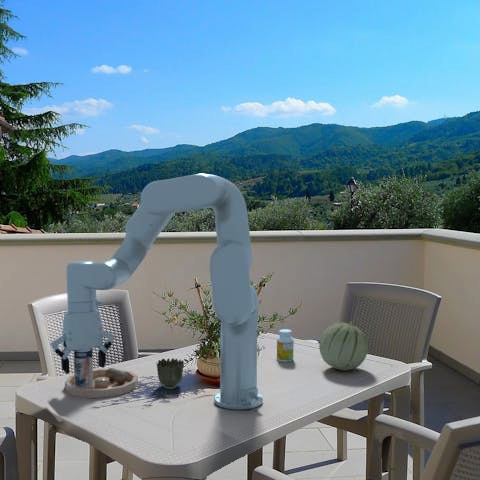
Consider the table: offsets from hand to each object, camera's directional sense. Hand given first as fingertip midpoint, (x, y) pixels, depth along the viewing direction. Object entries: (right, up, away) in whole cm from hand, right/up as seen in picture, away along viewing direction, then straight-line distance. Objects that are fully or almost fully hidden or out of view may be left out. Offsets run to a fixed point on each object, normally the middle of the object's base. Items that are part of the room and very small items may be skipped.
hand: (84, 369), depth 165 cm
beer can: (0, -6, 0) cm, 6 cm away
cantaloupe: (+74, -5, +23) cm, 78 cm away
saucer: (+4, -6, +3) cm, 8 cm away
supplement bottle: (+57, -4, +34) cm, 66 cm away
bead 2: (+9, -5, +5) cm, 11 cm away
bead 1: (+6, -5, +8) cm, 11 cm away
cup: (+23, -7, +3) cm, 24 cm away
